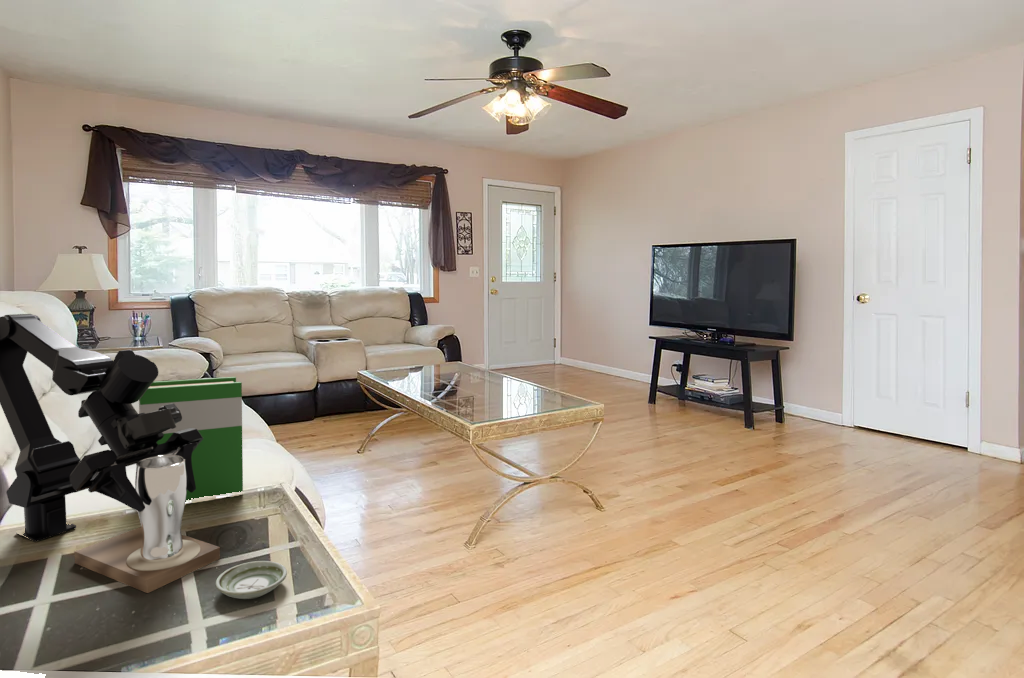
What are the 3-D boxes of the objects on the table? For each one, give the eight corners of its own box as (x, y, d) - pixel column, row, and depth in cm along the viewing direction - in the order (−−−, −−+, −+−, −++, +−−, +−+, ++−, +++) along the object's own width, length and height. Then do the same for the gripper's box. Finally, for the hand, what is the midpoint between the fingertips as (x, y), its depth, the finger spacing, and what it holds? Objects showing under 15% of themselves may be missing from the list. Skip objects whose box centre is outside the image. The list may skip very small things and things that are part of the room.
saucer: (292, 572, 93) (292, 558, 93) (278, 607, 84) (278, 591, 83) (227, 575, 91) (227, 560, 91) (206, 611, 82) (205, 594, 82)
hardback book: (236, 484, 129) (235, 376, 126) (242, 495, 123) (241, 382, 120) (141, 499, 119) (138, 382, 117) (143, 512, 113) (139, 389, 110)
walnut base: (74, 563, 93) (74, 549, 93) (149, 534, 104) (149, 522, 104) (147, 593, 85) (147, 578, 85) (220, 558, 96) (219, 545, 96)
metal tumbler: (148, 568, 88) (147, 471, 86) (127, 554, 92) (126, 461, 90) (196, 552, 94) (195, 460, 92) (174, 539, 97) (173, 451, 96)
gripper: (79, 401, 83) (136, 490, 80) (194, 381, 100) (244, 453, 97) (45, 447, 86) (99, 534, 84) (162, 420, 104) (209, 491, 101)
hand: (169, 500), depth 91 cm, fingers open, 8 cm apart
